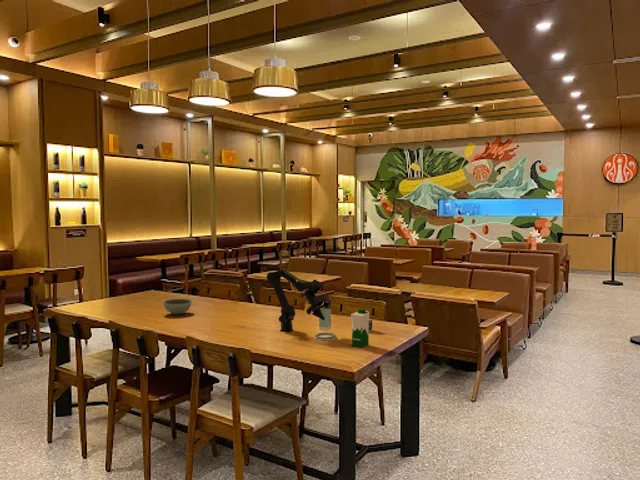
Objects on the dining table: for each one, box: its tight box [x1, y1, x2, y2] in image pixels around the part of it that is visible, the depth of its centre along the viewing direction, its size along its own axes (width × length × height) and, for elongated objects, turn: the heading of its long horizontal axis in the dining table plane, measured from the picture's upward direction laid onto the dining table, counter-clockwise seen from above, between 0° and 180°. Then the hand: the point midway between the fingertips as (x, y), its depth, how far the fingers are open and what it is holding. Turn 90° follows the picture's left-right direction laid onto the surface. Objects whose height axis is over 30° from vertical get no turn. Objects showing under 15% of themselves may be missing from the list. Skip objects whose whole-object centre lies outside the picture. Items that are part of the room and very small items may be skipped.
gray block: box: [318, 308, 332, 332], centre depth 289 cm, size 5×5×12 cm
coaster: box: [314, 332, 337, 341], centre depth 290 cm, size 12×12×2 cm
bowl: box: [162, 298, 193, 316], centre depth 363 cm, size 21×21×10 cm
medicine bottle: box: [365, 310, 373, 332], centre depth 307 cm, size 7×7×12 cm
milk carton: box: [350, 308, 370, 348], centre depth 272 cm, size 9×9×20 cm
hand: (326, 318), depth 288 cm, fingers closed on gray block, 5 cm apart
